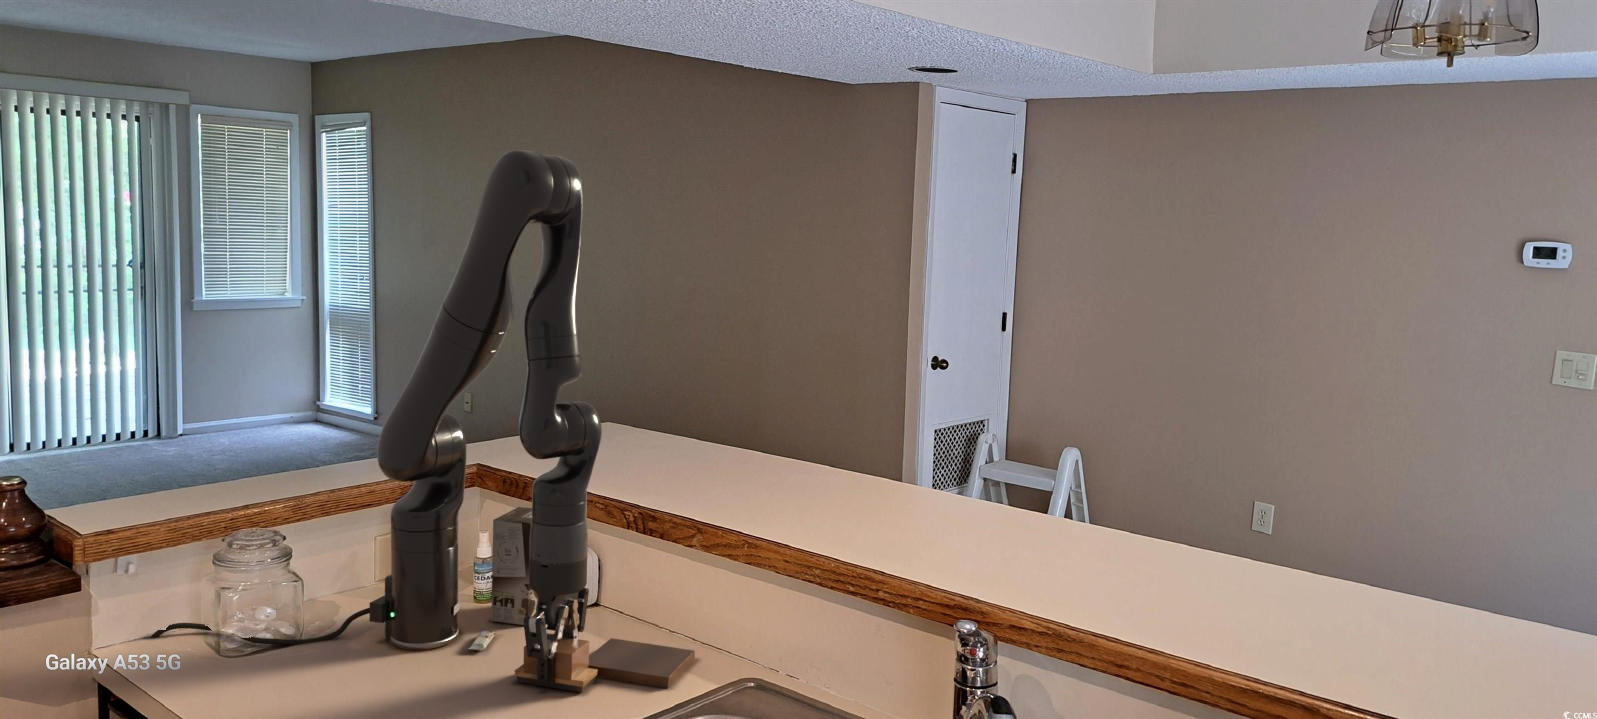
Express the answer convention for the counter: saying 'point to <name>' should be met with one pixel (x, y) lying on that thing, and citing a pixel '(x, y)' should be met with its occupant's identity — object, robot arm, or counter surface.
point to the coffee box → (512, 568)
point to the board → (640, 662)
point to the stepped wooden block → (562, 666)
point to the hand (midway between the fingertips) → (556, 675)
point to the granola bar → (482, 640)
